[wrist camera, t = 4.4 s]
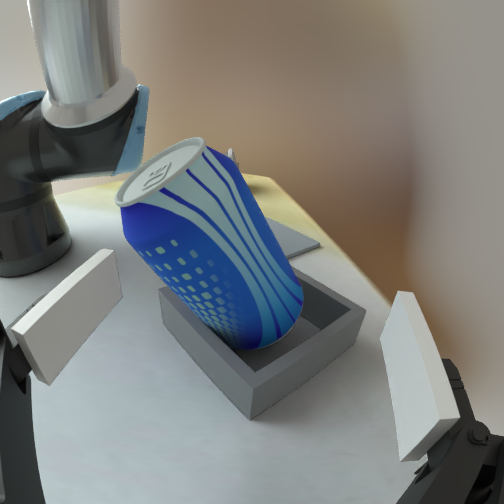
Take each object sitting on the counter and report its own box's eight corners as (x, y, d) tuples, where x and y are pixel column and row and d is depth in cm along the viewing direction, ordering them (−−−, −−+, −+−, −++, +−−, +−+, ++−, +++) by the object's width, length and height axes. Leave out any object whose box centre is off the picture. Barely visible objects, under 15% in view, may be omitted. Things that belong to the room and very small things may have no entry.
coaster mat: (259, 269, 38) (260, 265, 38) (207, 235, 46) (207, 231, 46) (319, 246, 45) (320, 242, 45) (266, 220, 53) (266, 217, 53)
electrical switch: (242, 195, 65) (240, 153, 61) (218, 196, 65) (215, 155, 61) (241, 184, 74) (239, 147, 69) (220, 185, 73) (217, 149, 69)
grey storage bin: (249, 420, 19) (253, 389, 17) (163, 323, 28) (158, 289, 26) (354, 342, 27) (366, 310, 25) (264, 282, 35) (267, 252, 33)
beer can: (206, 335, 28) (89, 210, 18) (255, 270, 31) (170, 137, 22) (272, 372, 22) (135, 221, 13) (325, 290, 26) (245, 120, 16)
